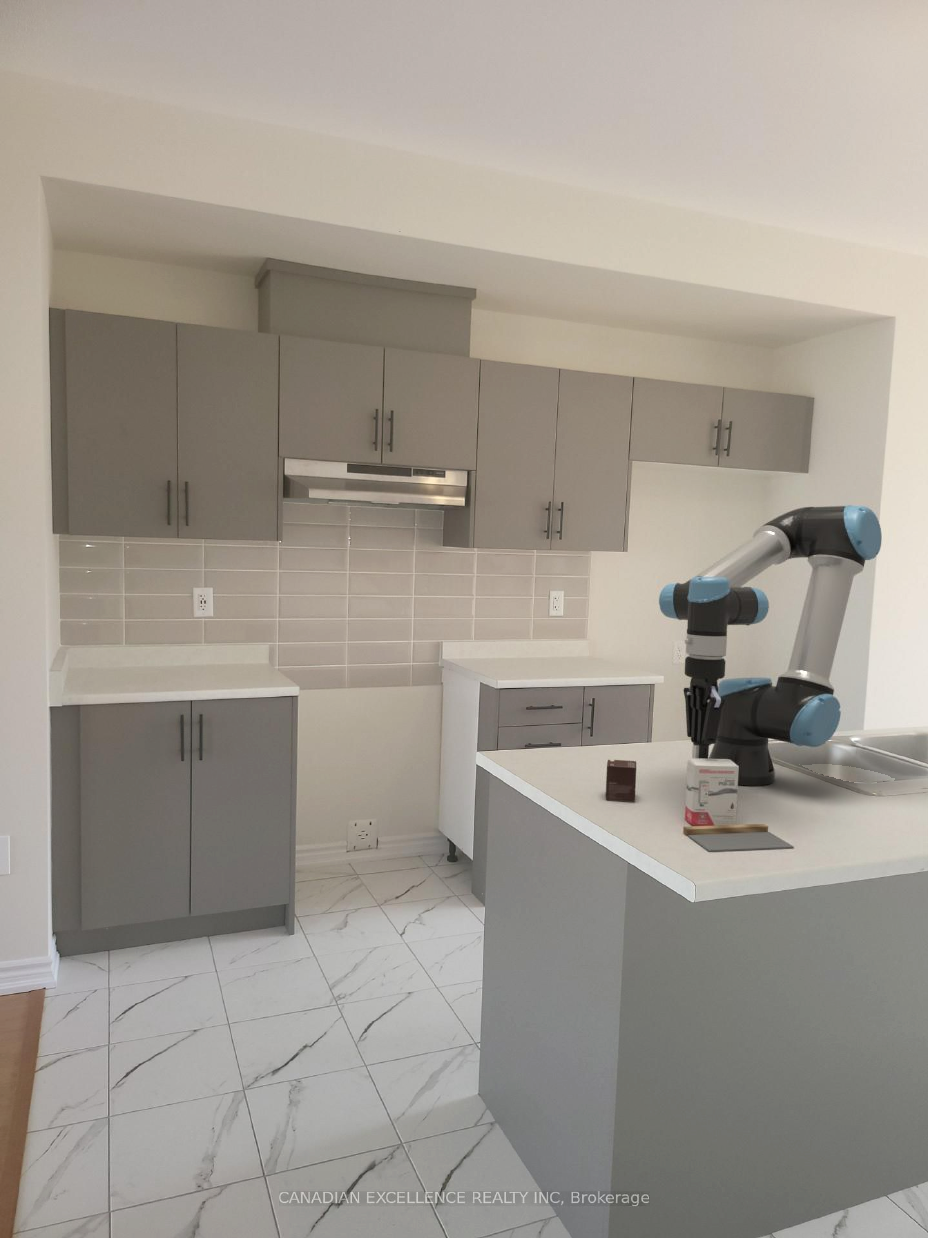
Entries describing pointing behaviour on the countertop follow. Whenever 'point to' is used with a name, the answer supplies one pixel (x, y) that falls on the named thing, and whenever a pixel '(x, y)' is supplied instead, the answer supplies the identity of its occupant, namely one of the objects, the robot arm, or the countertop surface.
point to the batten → (725, 829)
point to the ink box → (711, 792)
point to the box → (621, 780)
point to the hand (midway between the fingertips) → (699, 776)
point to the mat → (740, 841)
